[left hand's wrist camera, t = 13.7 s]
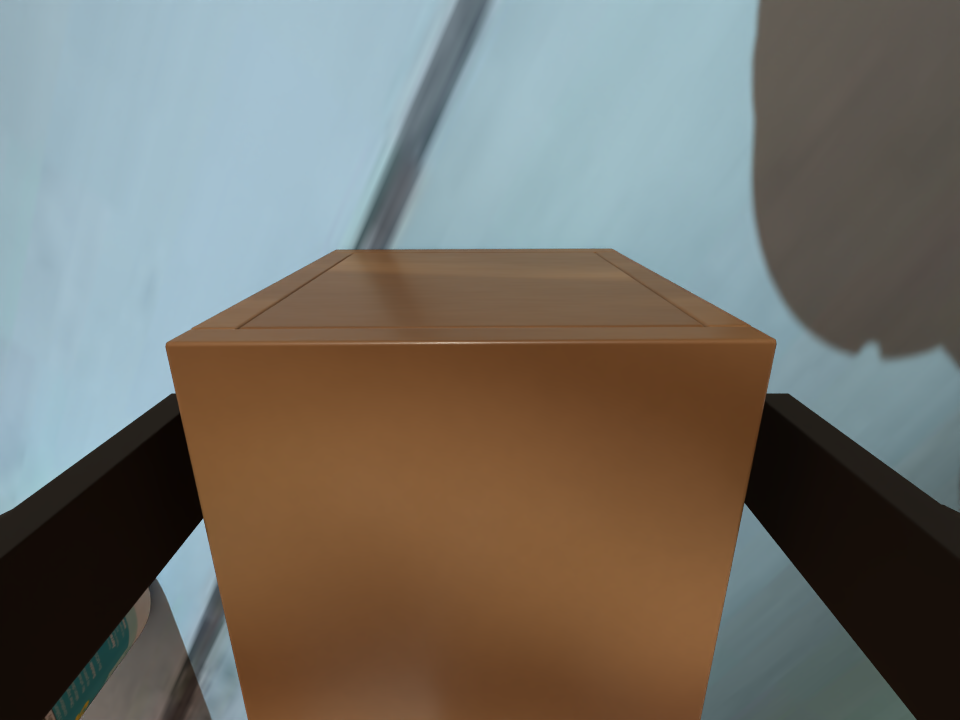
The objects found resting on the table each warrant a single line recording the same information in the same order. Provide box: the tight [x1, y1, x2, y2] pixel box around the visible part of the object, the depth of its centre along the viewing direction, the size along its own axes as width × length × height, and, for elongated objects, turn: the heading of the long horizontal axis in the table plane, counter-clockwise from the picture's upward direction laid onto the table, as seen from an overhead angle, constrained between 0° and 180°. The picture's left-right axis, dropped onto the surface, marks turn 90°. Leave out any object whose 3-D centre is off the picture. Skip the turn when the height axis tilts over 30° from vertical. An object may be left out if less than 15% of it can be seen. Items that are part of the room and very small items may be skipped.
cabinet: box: [166, 249, 776, 720], centre depth 17 cm, size 17×10×11 cm, turn 0°
